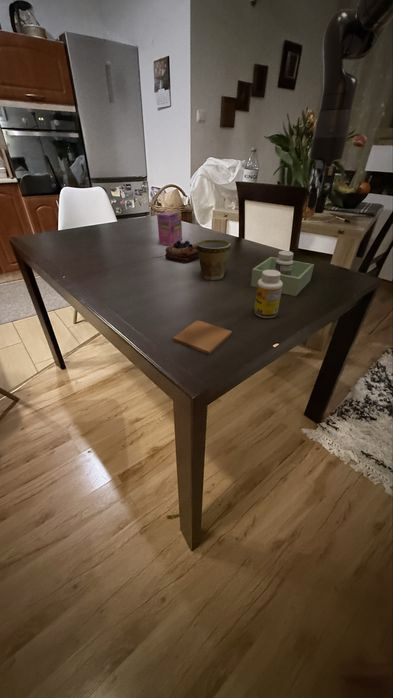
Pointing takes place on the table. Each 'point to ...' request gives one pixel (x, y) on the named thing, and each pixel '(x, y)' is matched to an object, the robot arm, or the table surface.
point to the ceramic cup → (213, 257)
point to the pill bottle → (284, 263)
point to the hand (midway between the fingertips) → (314, 210)
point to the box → (169, 227)
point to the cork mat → (202, 336)
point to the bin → (290, 283)
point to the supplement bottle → (268, 294)
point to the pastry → (182, 252)
